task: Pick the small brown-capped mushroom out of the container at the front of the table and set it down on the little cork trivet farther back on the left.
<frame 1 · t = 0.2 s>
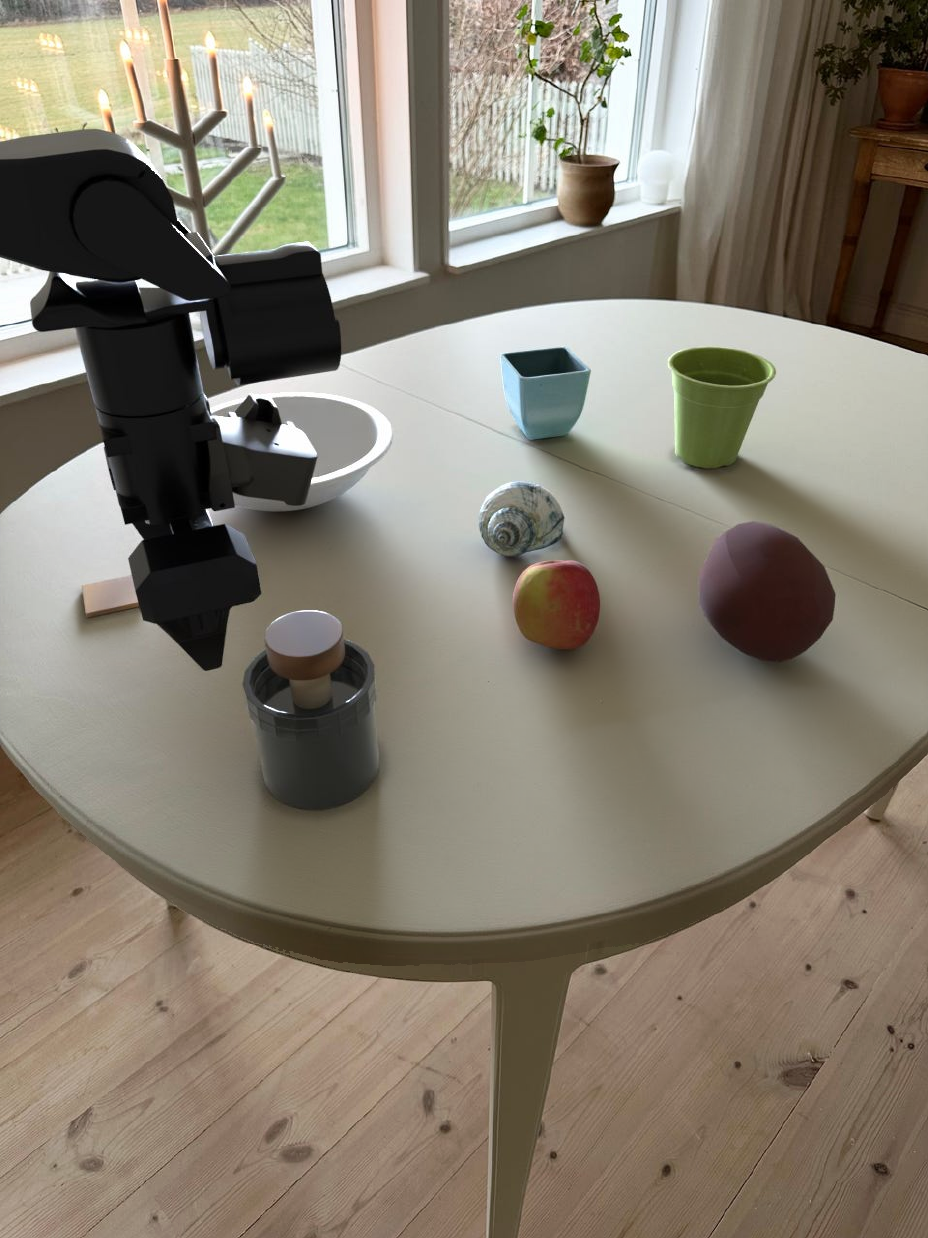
hand: (199, 625, 59), 14 cm above the table, tool pointing down, fingers open, 9 cm apart
container: (321, 766, 69), on the table
flower pot: (540, 432, 116), on the table
seashell: (517, 544, 94), on the table
trivet: (112, 597, 87), on the table
mushroom: (312, 696, 65), point 7 cm above the table, touching container
plant pot: (705, 457, 110), on the table
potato: (752, 644, 81), on the table
apple: (553, 642, 81), on the table
soup bowl: (288, 491, 103), on the table
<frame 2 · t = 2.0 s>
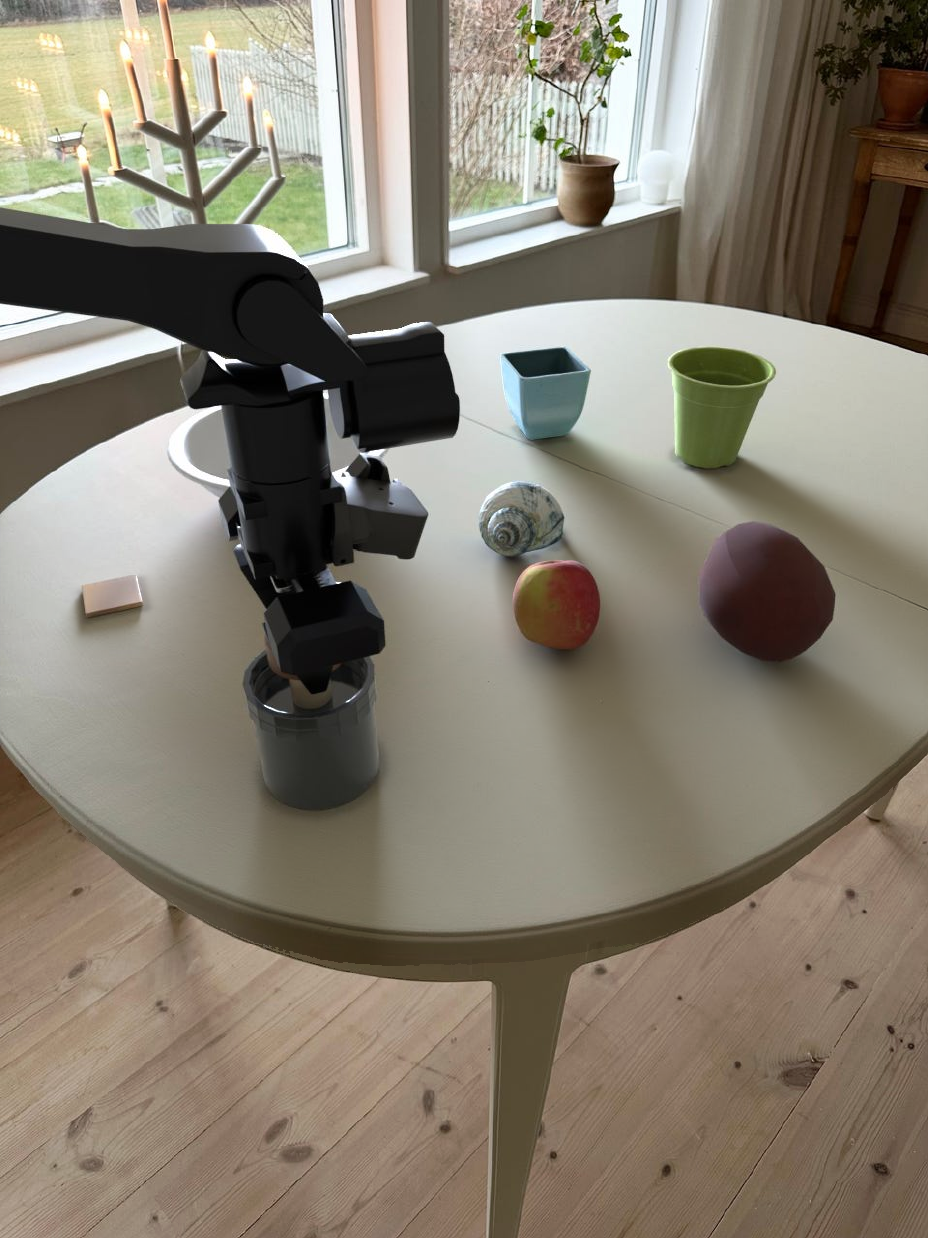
hand: (308, 667, 63), 10 cm above the table, tool pointing down, fingers closed on mushroom, 5 cm apart
mushroom: (312, 696, 65), point 7 cm above the table, touching gripper, container
everything else where it was.
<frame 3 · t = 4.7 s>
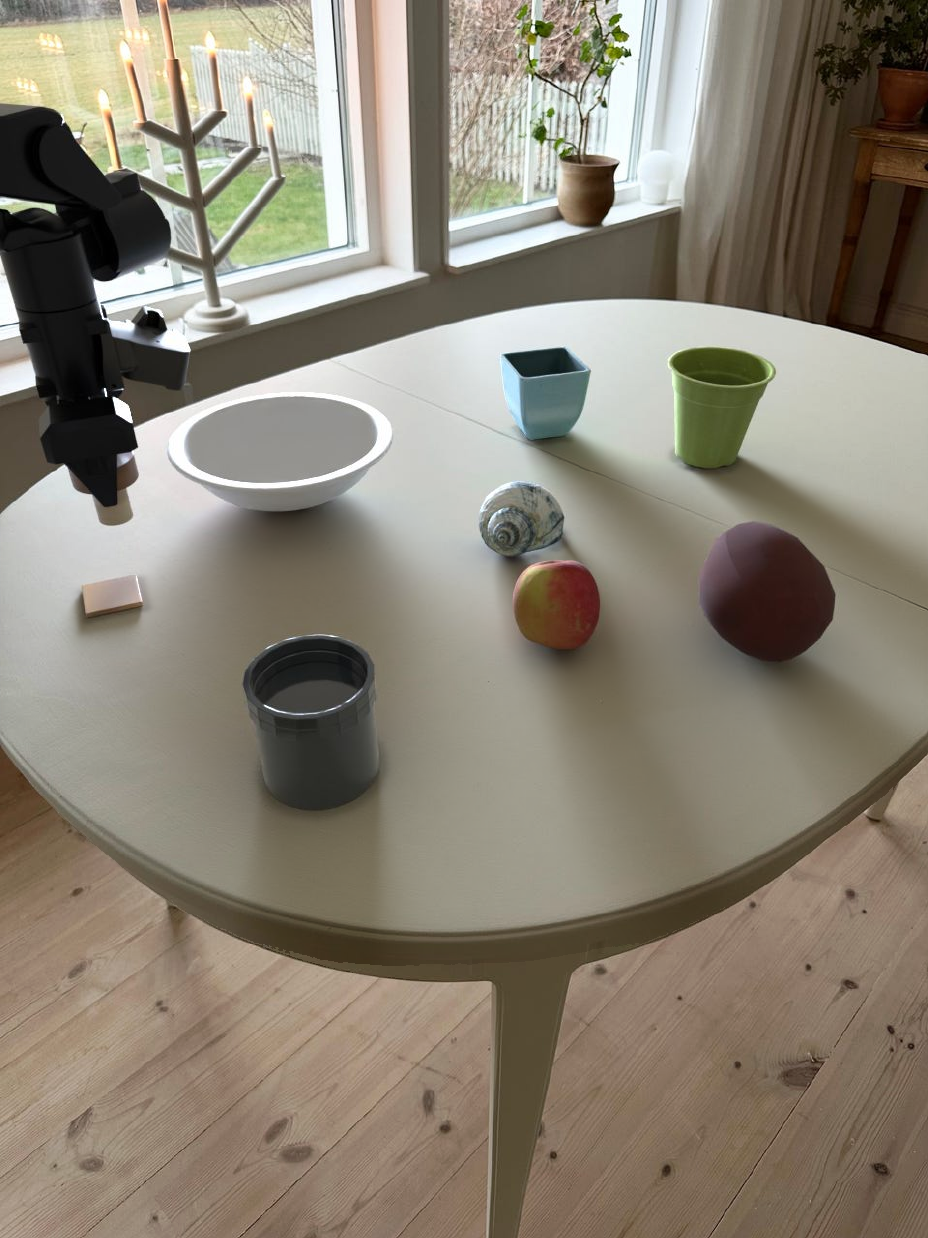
hand: (108, 490, 76), 13 cm above the table, tool pointing down, fingers closed on mushroom, 5 cm apart
mushroom: (116, 517, 78), point 11 cm above the table, touching gripper
everything else where it was.
when the fingers open (3 cm above the table, at t = 7.9 s): mushroom stays where it is, resting on trivet.
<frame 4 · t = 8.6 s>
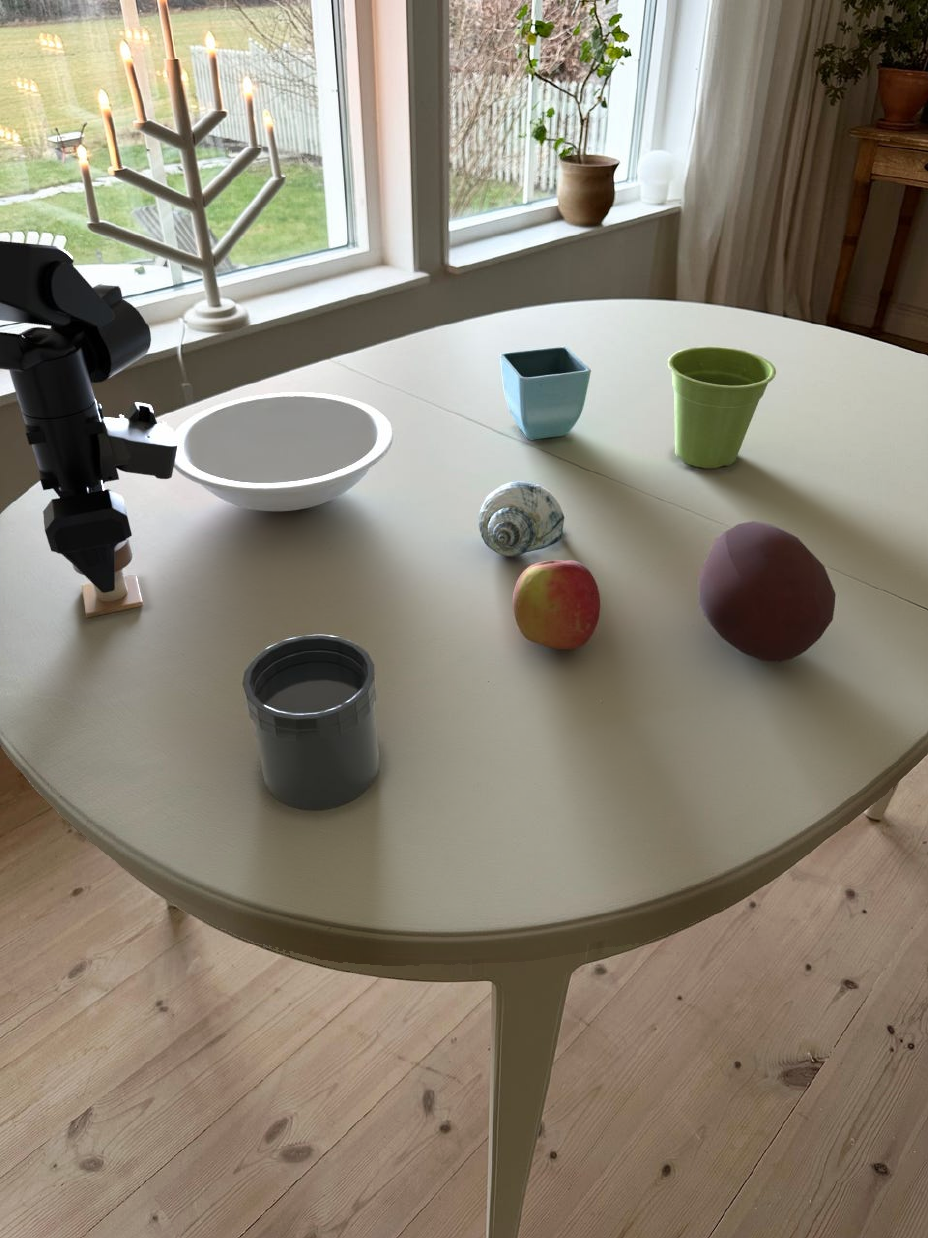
hand: (103, 564, 85), 4 cm above the table, tool pointing down, fingers open, 9 cm apart
mushroom: (112, 593, 86), resting on trivet
everything else where it was.
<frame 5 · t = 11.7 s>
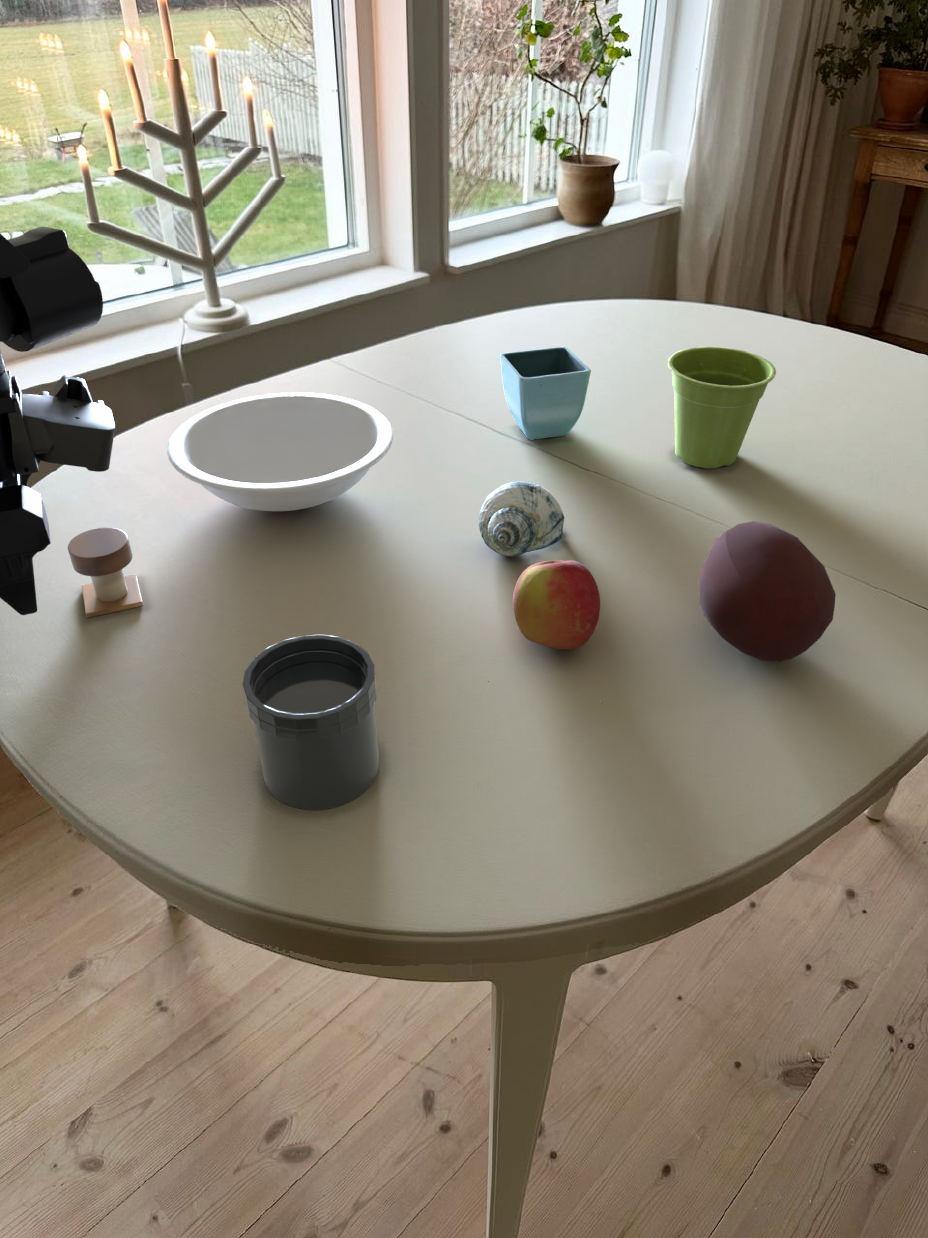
hand: (27, 578, 68), 12 cm above the table, tool pointing down, fingers open, 9 cm apart
nothing on the table moved.
at the end: mushroom 0.1 cm off-centre on the trivet, point 0.5 cm above the trivet's base; mushroom tilted 0°; the gripper is holding nothing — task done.
